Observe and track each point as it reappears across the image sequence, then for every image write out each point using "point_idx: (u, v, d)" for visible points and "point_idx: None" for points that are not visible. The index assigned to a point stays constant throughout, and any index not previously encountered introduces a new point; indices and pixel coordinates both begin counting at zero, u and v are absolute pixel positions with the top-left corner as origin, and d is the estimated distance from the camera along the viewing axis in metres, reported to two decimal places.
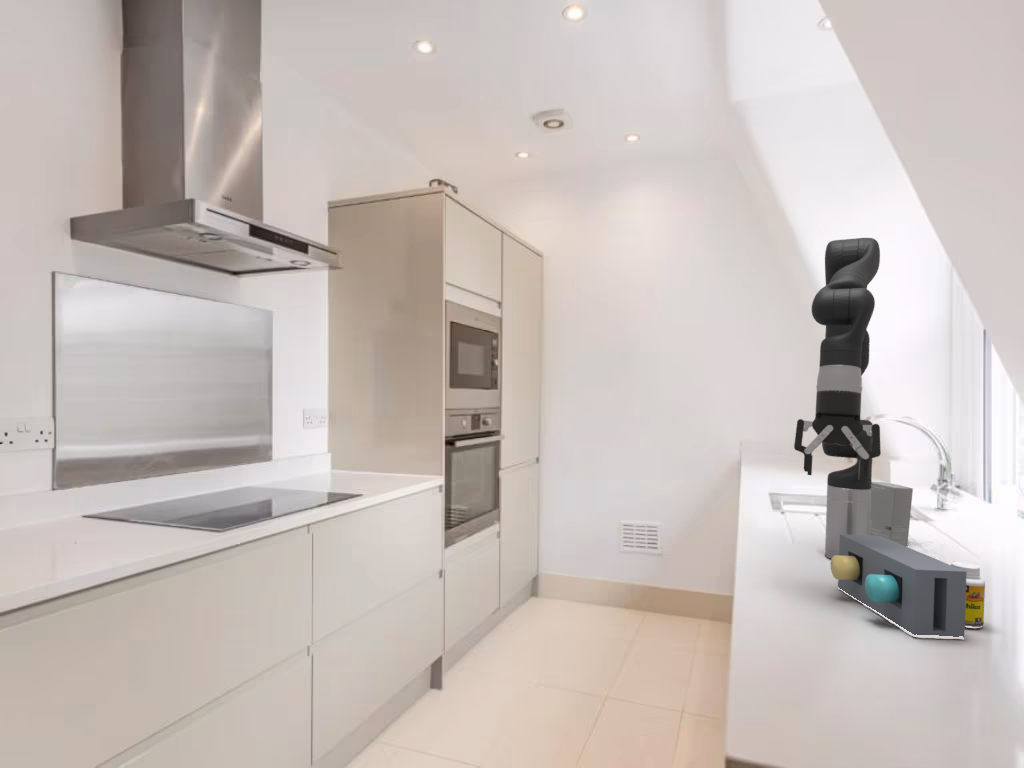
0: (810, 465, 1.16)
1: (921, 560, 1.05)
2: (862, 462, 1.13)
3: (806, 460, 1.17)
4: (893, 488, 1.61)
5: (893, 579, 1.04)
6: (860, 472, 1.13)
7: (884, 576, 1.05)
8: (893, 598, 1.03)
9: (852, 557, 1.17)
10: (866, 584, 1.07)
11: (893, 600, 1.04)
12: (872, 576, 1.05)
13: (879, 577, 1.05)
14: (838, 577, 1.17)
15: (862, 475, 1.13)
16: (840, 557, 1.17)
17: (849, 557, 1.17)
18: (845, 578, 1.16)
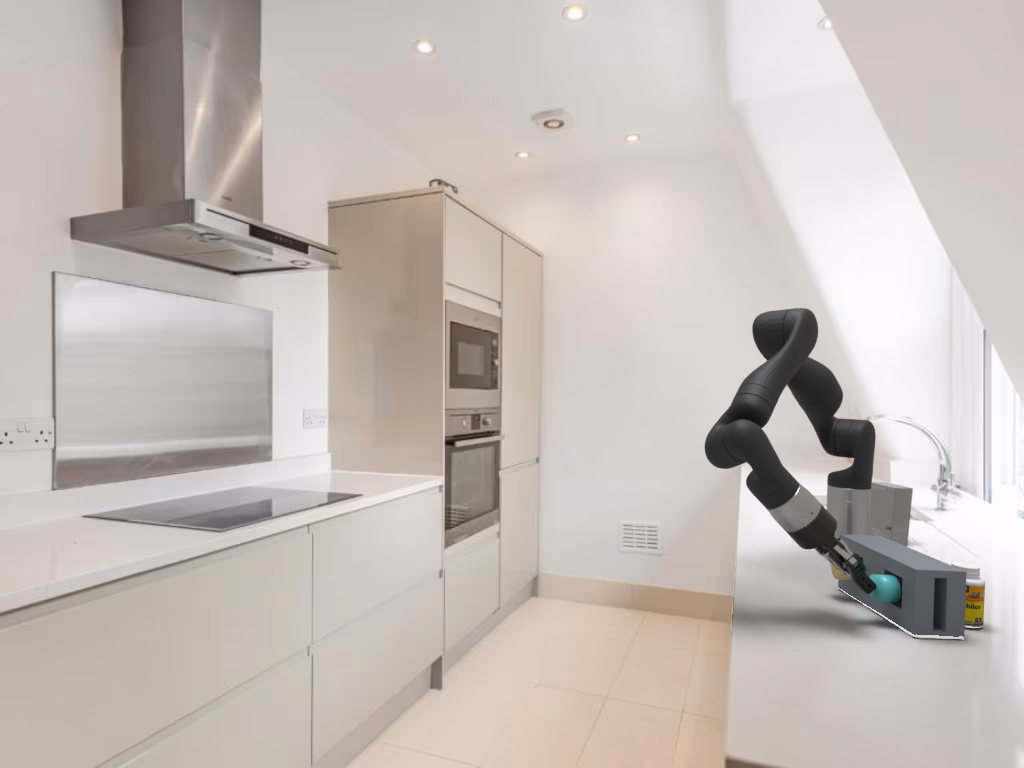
0: (857, 585, 1.06)
1: (921, 560, 1.05)
2: (854, 580, 1.05)
3: None
4: (893, 488, 1.61)
5: (895, 579, 1.04)
6: None
7: (886, 576, 1.05)
8: (895, 598, 1.03)
9: None
10: None
11: (896, 600, 1.04)
12: (874, 576, 1.05)
13: (882, 577, 1.05)
14: (838, 577, 1.17)
15: (864, 591, 1.05)
16: None
17: None
18: (845, 578, 1.16)
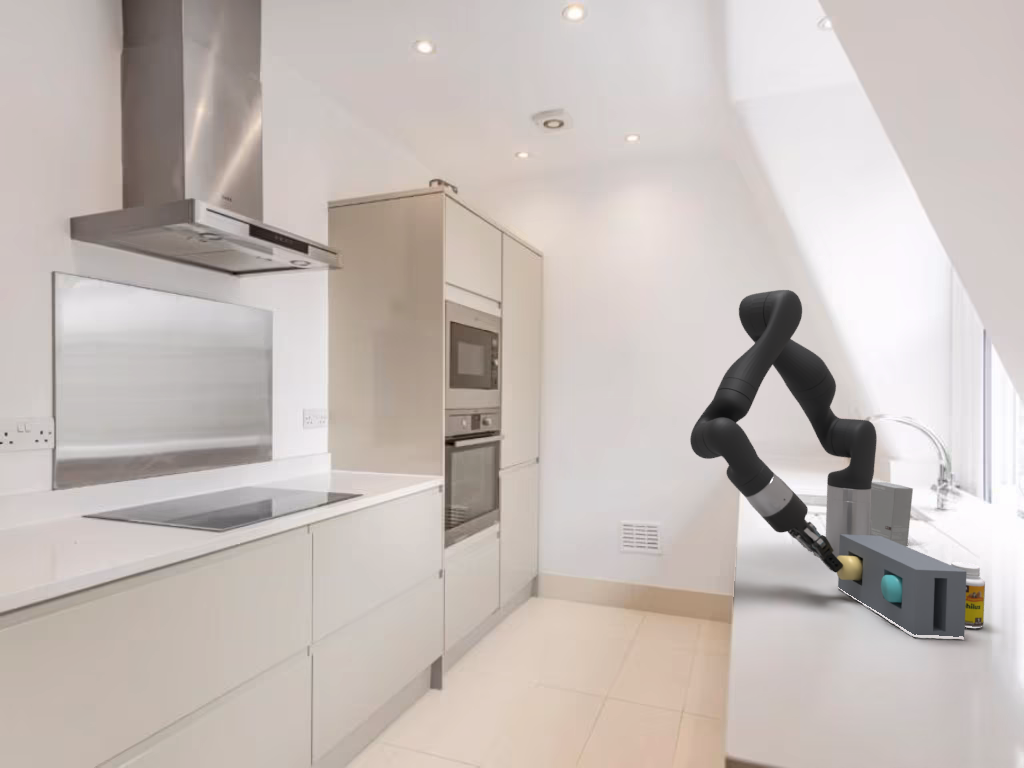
0: (826, 565, 1.18)
1: (921, 560, 1.05)
2: (823, 560, 1.17)
3: None
4: (893, 488, 1.61)
5: None
6: None
7: (900, 577, 1.05)
8: None
9: (857, 557, 1.17)
10: (883, 585, 1.07)
11: None
12: (888, 577, 1.05)
13: (896, 577, 1.05)
14: (843, 577, 1.17)
15: (832, 570, 1.17)
16: (845, 557, 1.17)
17: (854, 557, 1.17)
18: (850, 578, 1.16)
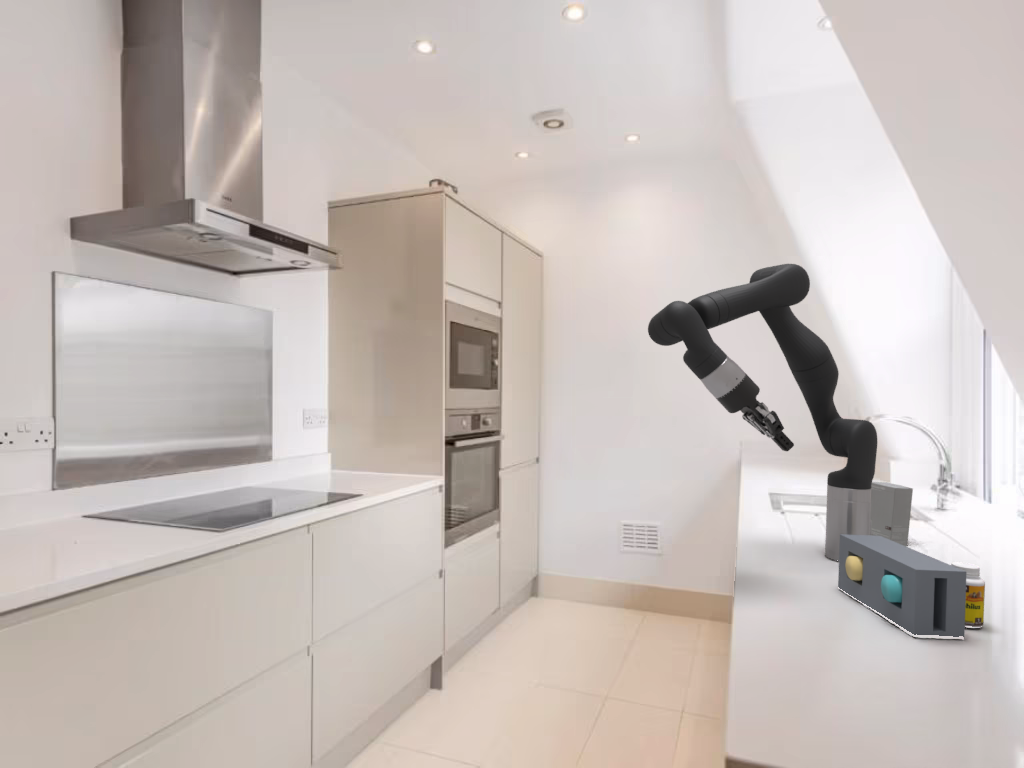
0: (778, 445, 1.23)
1: (921, 560, 1.05)
2: (775, 440, 1.22)
3: None
4: (893, 488, 1.61)
5: None
6: (781, 446, 1.22)
7: (900, 577, 1.05)
8: None
9: None
10: (883, 585, 1.07)
11: None
12: (888, 577, 1.05)
13: (896, 577, 1.05)
14: (853, 577, 1.17)
15: (783, 449, 1.22)
16: (855, 558, 1.17)
17: None
18: (860, 579, 1.16)
